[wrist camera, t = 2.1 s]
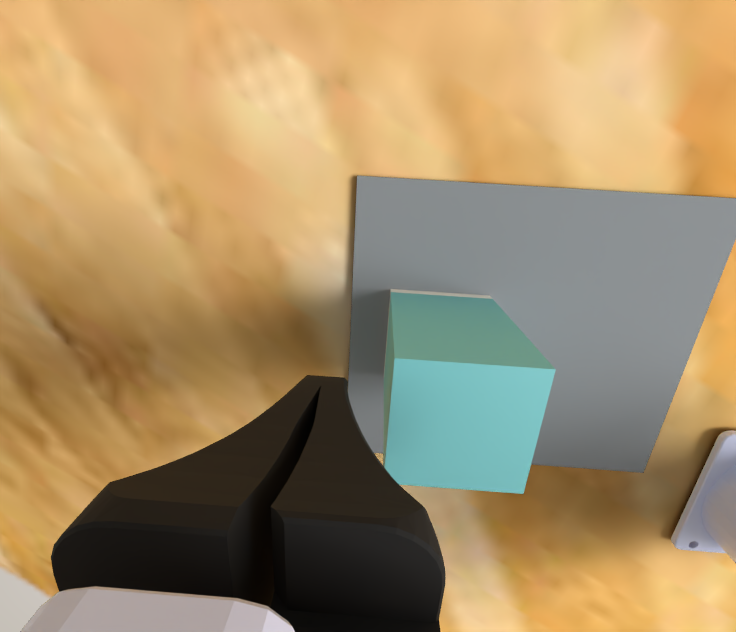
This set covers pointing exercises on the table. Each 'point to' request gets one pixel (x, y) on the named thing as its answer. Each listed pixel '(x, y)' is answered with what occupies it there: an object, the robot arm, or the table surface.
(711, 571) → the table surface
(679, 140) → the table surface
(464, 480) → the teal block
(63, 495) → the table surface
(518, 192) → the mat
